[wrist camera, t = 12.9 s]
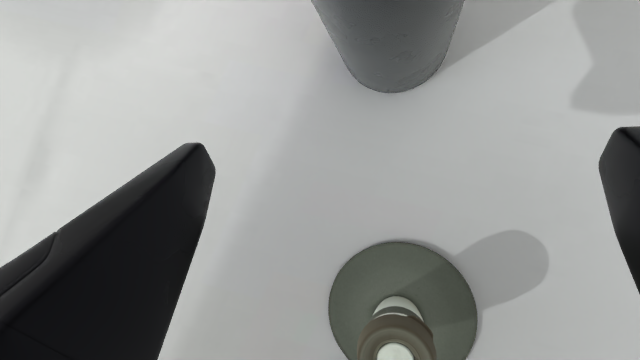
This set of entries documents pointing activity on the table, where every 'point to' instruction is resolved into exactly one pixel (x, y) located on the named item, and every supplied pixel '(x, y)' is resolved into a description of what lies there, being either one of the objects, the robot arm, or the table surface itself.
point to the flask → (390, 38)
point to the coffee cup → (402, 306)
